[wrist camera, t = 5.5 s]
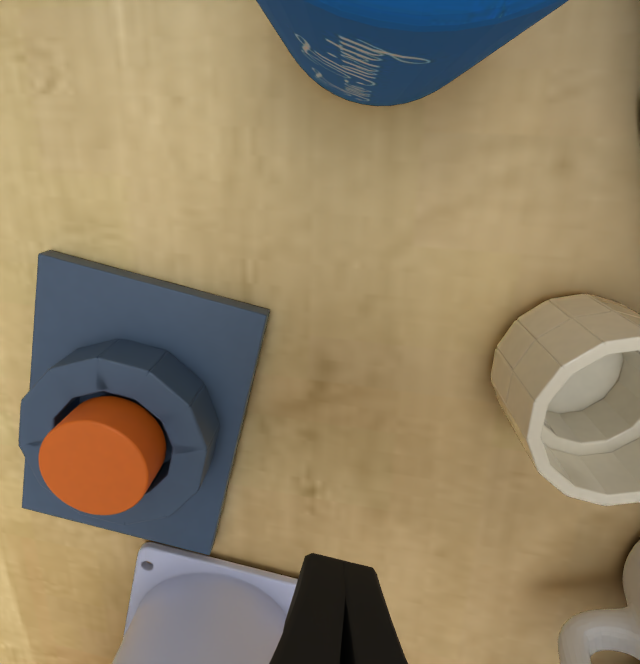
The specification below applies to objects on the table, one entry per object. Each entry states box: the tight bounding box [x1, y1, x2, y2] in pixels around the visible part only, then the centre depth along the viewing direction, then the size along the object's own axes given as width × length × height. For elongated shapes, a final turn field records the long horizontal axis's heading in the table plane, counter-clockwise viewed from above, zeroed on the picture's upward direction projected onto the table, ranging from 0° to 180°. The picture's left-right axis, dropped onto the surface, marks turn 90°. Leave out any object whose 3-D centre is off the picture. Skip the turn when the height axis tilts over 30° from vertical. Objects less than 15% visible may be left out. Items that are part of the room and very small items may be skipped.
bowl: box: [491, 294, 640, 506], centre depth 16 cm, size 5×5×4 cm
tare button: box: [39, 396, 166, 515], centre depth 17 cm, size 4×4×2 cm
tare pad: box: [19, 250, 270, 555], centre depth 18 cm, size 11×8×2 cm
